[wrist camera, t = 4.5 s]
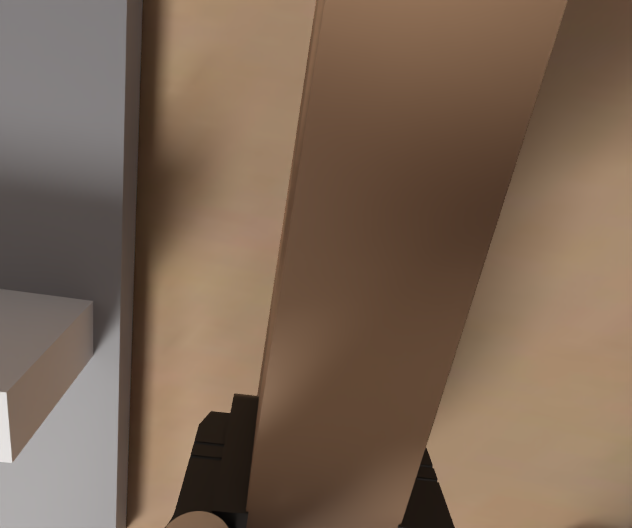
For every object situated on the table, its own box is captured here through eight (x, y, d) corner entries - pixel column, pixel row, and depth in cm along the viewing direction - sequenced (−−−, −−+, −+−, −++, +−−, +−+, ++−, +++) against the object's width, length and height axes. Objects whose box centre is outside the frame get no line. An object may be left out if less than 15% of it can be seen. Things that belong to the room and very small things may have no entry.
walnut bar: (327, -73, 10) (365, -264, 5) (452, -45, 11) (630, -195, 5) (223, 620, 19) (193, 848, 13) (296, 625, 19) (297, 850, 13)
